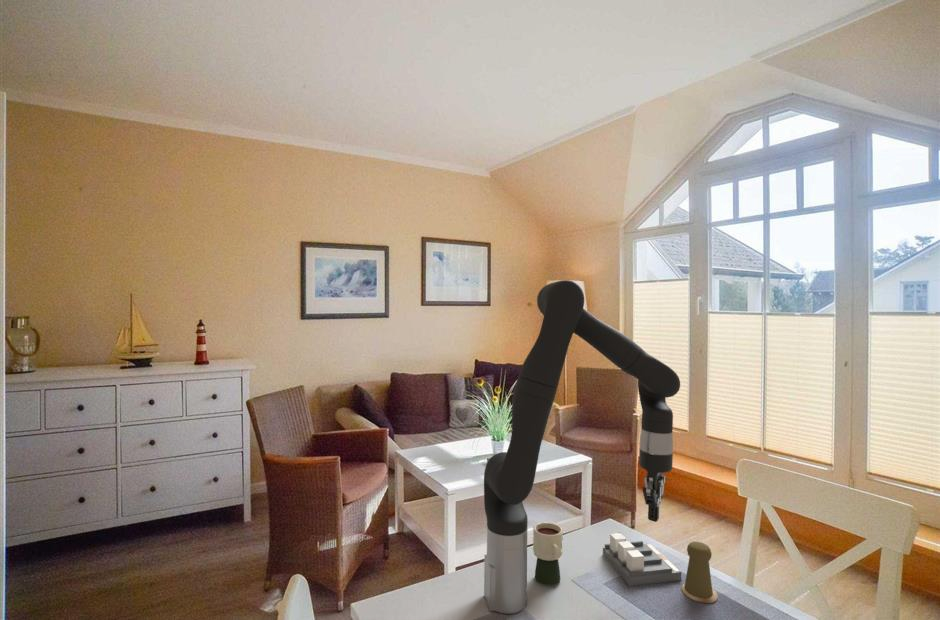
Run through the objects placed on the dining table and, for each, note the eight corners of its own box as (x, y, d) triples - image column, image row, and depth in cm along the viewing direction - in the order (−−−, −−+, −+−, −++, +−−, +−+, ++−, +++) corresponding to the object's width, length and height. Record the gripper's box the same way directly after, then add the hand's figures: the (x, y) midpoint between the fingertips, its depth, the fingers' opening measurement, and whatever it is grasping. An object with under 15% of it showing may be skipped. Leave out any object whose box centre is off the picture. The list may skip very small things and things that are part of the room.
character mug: (570, 592, 111) (570, 538, 111) (541, 596, 110) (542, 541, 109) (552, 567, 122) (553, 517, 122) (526, 570, 120) (526, 519, 120)
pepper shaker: (716, 599, 108) (717, 552, 108) (688, 596, 109) (689, 549, 109) (708, 584, 114) (708, 539, 114) (681, 581, 115) (682, 537, 115)
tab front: (632, 573, 115) (632, 557, 115) (626, 566, 118) (626, 550, 118) (643, 572, 116) (644, 556, 116) (637, 565, 119) (637, 549, 119)
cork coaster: (695, 604, 107) (695, 602, 107) (675, 585, 114) (675, 583, 114) (725, 601, 108) (725, 599, 108) (703, 582, 116) (703, 580, 116)
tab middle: (623, 563, 120) (623, 548, 120) (617, 557, 123) (618, 542, 123) (634, 562, 120) (634, 547, 120) (628, 556, 123) (628, 541, 123)
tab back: (615, 554, 124) (615, 539, 124) (609, 548, 127) (610, 533, 127) (625, 553, 125) (626, 538, 125) (620, 547, 128) (620, 533, 128)
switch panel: (629, 585, 114) (629, 573, 114) (602, 555, 128) (602, 544, 128) (681, 580, 117) (681, 568, 117) (649, 550, 130) (650, 540, 130)
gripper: (647, 440, 121) (644, 506, 122) (632, 451, 111) (629, 525, 111) (678, 445, 117) (675, 515, 117) (666, 458, 106) (663, 535, 106)
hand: (653, 519), depth 114 cm, fingers closed
